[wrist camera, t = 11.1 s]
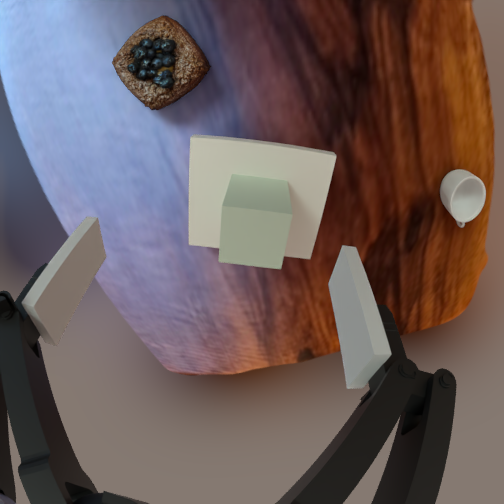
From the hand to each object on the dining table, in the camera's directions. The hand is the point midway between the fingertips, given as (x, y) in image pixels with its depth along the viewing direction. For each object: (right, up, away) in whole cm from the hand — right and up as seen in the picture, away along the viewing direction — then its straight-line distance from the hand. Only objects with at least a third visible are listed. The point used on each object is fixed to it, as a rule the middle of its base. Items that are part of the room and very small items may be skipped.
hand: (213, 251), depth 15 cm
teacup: (+35, +10, +24) cm, 44 cm away
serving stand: (+3, +9, +27) cm, 28 cm away
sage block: (+3, +6, +23) cm, 24 cm away
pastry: (-10, +25, +16) cm, 32 cm away
